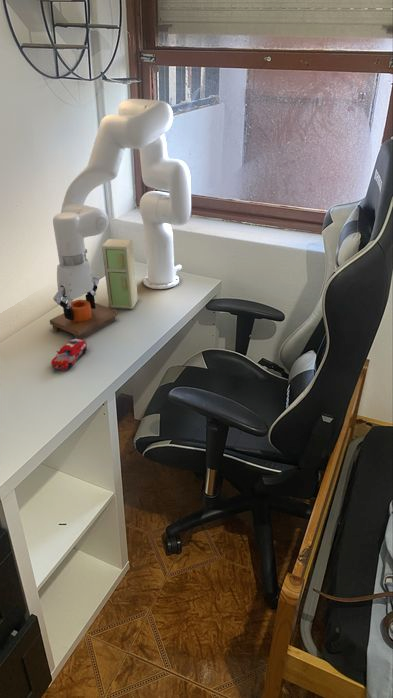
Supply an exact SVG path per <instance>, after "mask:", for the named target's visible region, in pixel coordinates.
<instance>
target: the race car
mask: <svg viewBox="0 0 393 698" xmlns="http://www.w3.org/2000/svg"><path fill="white" fill-rule="evenodd" d="M87 350H88V344H87V342H86V340H84V339H82V340H81V339H75V338H74V339H71V340H69V341H67V342H65V344H63V345H62V347H60V348H59V350H56V353H57V354H56V355H55V356H54V357H53V359H51V361H50V365H51V368H52V369H54V370H56V371H66V370H71V369H72V367H73V366H74V365H75V364H76V363H77V361H79V360H80V358H81V357H83V356H84V355H85V354H86V353H87Z"/></svg>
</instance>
